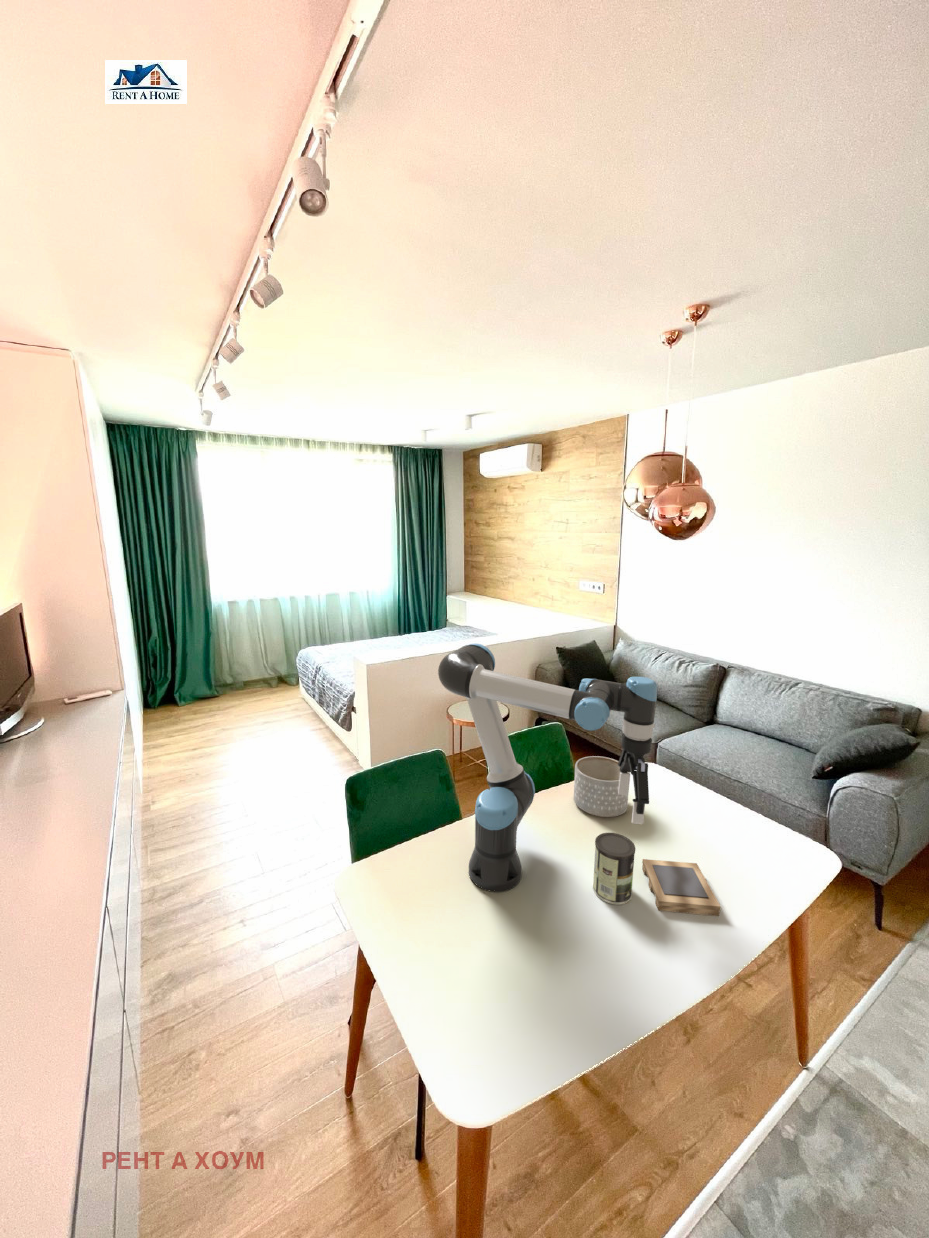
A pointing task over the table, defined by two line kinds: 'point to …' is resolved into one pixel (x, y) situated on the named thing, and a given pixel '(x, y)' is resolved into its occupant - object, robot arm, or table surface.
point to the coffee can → (613, 868)
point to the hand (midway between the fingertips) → (629, 807)
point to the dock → (680, 887)
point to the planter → (599, 787)
